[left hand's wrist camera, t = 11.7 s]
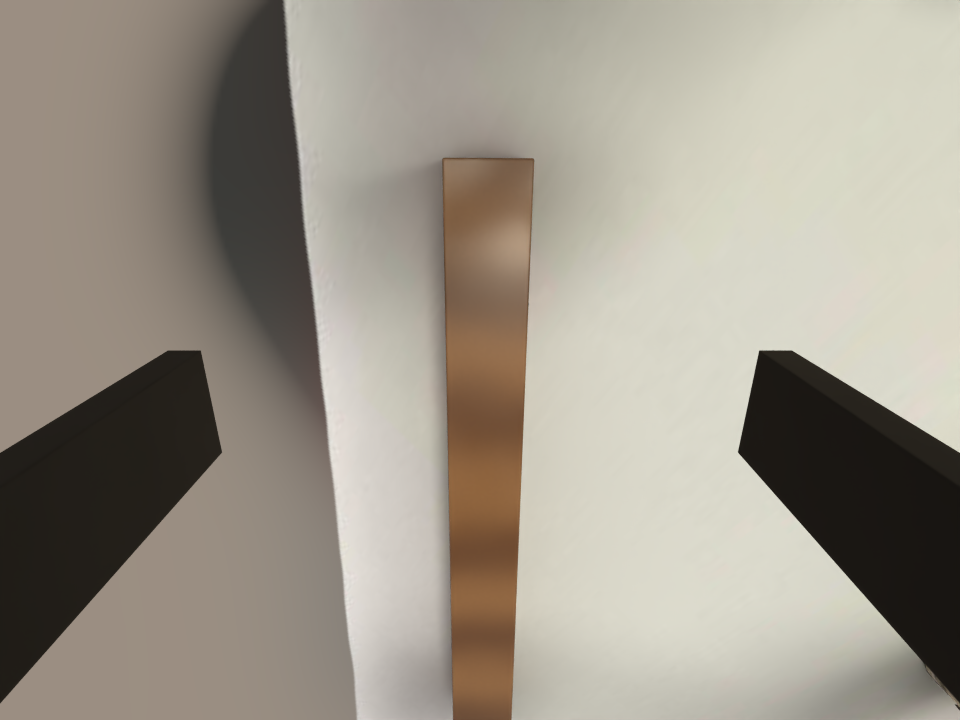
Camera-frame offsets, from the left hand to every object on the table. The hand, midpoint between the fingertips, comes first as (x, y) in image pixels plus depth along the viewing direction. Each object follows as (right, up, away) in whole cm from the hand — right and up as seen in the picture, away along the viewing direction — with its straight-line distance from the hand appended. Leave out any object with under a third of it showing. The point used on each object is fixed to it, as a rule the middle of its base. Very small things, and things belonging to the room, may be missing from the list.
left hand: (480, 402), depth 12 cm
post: (0, -10, +32) cm, 34 cm away
